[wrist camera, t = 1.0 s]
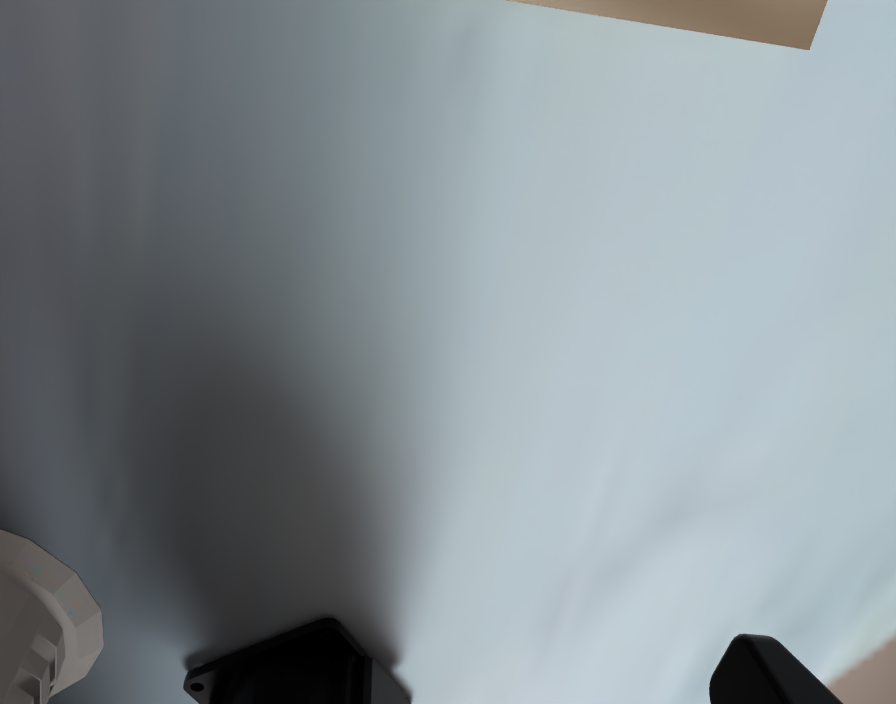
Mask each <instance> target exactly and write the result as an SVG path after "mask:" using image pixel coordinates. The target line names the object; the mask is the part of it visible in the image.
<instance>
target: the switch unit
mask: <svg viewBox="0 0 896 704" xmlns="http://www.w3.org/2000/svg"><path fill="white" fill-rule="evenodd" d="M507 1H514V2H520V3H526V4H532V5H538V6H544V7H550V8H556V9H562V10H568V11H574V12H580V13H586V14H593V15H599V16H605V17H611V18H617V19H623V20H629V21H635V22H641V23H647V24H653V25H659V26H665V27H672V28H678V29H684V30H690V31H696V32H702V33H708V34H714V35H720V36H726V37H732V38H738V39H745V40H751V41H757V42H763V43H769V44H775V45H781V46H787V47H793V48H799V49H805V50H809V49H810V46H811V44H812V41H813V38H814V36H815V33H816V30H817V27H818V25H819V22H820V19H821V17H822V14H823V11H824V8H825V6H826V3H827V0H507Z"/></svg>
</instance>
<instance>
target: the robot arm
mask: <svg viewBox="0 0 896 704" xmlns="http://www.w3.org/2000/svg"><path fill="white" fill-rule="evenodd" d="M183 687H184V690H185V691H186V692H187V693H188V694H189V695H190V696H191V697H192V698H194V699H195V700H196V701H197V702H198V703H199V704H411V703H410V702H409V701H408V700H407V699H406V698H405V696H404V693H403V691H402V690H401V689H400V688H399V687H398V686H397V684H396V683H395V682H394V681H393V680H392V679H391V678H390V676H389V675H388V674H387V673H386V672H385V671H384V669H383V668H382V667H381V666H380V665H379V664H378V663H377V661H376V660H375V659H374V658H372V657H371V656H369V655H368V654H367V653H366V652H365V650H364V649H363V648H362V647H361V646H360V645H359V643H358V642H357V641H356V640H355V639H354V638H353V637H352V635H351V634H350V633H349V632H348V631H347V630H346V629H345V627H344V626H343V625H342V624H341V623H340V622H339V621H338V620H336V619H333V618H323V619H320V620H317V621H315V622H312V623H309V624H307V625H304V626H302V627H299V628H297V629H294V630H292V631H289V632H287V633H284V634H282V635H279V636H277V637H274V638H272V639H269V640H267V641H264V642H261V643H259V644H256V645H254V646H251V647H249V648H246V649H244V650H241V651H239V652H236V653H234V654H231V655H229V656H226V657H224V658H221V659H219V660H216V661H214V662H211V663H208V664H206V665H203V666H201V667H198V668H196V669H193V670H191V671H189V672H188V673H187V675H186V677H185V681H184V685H183ZM709 695H710V702H711V704H843V703H842V702H841V701H840V700H839V699H838V698H837V697H836V696H835V695H834V694H833V693H832V692H831V691H830V690H829V689H828V688H827V687H826V686H825V685H824V684H822V683H821V682H820V681H819V680H818V679H817V678H816V677H815V676H814V675H813V674H812V673H811V672H810V671H809V670H808V669H807V668H806V667H805V666H804V665H803V664H802V663H801V662H800V661H799V660H798V659H797V658H796V657H795V656H793V655H792V654H791V653H790V652H789V651H788V650H787V649H786V648H785V647H784V646H783V645H782V644H781V643H780V642H779V641H777V640H776V639H774V638H772V637H770V636H765V635H753V634H739V635H738V636H736V637H734V639H733V640H732V641H731V643H730V645H729V647H728V648H727V650H726V652H725V653H724V655H723V657H722V659H721V660H720V662H719V664H718V666H717V667H716V669H715V671H714V673H713V675H712V677H711V681H710V687H709Z"/></svg>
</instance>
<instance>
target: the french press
mask: <svg viewBox="0 0 896 704" xmlns="http://www.w3.org/2000/svg"><path fill="white" fill-rule="evenodd" d="M103 647H104V641H103V627H102V613H101V609H100V608H99V606H98V605H97V603H96V602H95V600H94V599H93V597H92V596H91V594H90V593H89V591H88V590H87V588H86V587H85V585H84V584H83V582H82V581H81V579H80V578H79V576H78V575H77V574H76V572H74V571H73V570H72V569H70V568H69V567H67V566H66V565H64V564H63V563H62V562H60V561H59V560H57V559H56V558H55V557H53V556H52V555H50V554H49V553H48V552H46V551H45V550H43V549H42V548H40V547H39V546H38V545H36V544H35V543H33V542H32V541H31V540H29V539H26V538H24V537H21V536H18V535H15V534H12V533H10V532H7V531H4V530H1V529H0V704H47V702H48V700H49V698H50V697H52V696H53V695H55V694H57V693H58V692H60V691H62V690H64V689H65V688H67V687H69V686H70V685H72V684H74V683H76V682H77V681H79V680H81V679H82V678H84V677H86V675H87V673H88V672H89V670H90V669H91V667H92V665H93V664H94V662H95V660H96V659H97V657H98V655H99V654H100V652H101V651H102V649H103Z"/></svg>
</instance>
